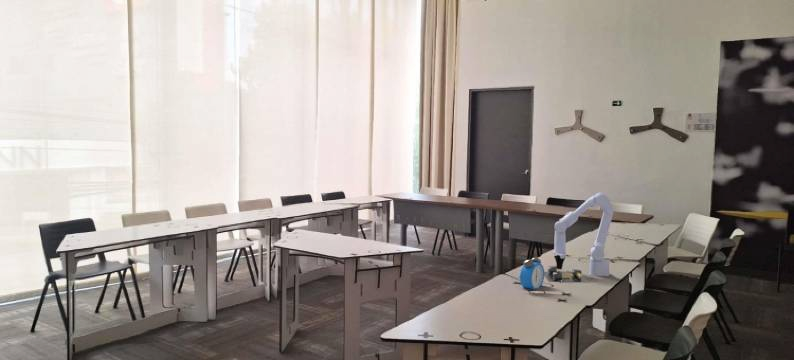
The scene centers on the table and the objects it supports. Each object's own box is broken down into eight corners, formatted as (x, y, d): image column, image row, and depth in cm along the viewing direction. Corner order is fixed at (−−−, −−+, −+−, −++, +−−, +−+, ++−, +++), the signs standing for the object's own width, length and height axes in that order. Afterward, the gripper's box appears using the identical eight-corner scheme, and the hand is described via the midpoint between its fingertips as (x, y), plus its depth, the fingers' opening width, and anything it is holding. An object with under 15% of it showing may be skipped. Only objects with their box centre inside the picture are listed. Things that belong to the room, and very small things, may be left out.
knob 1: (555, 274, 275) (555, 268, 275) (546, 273, 277) (547, 267, 277) (560, 270, 284) (560, 264, 283) (552, 269, 286) (552, 263, 286)
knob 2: (553, 280, 264) (554, 273, 264) (552, 277, 269) (552, 271, 268) (574, 280, 263) (574, 274, 263) (572, 278, 268) (572, 272, 268)
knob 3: (571, 275, 274) (571, 269, 273) (579, 275, 273) (580, 269, 273) (576, 280, 264) (576, 274, 263) (585, 280, 263) (585, 274, 263)
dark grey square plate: (579, 274, 281) (579, 270, 281) (589, 284, 261) (590, 280, 261) (541, 273, 283) (541, 269, 282) (548, 284, 263) (548, 279, 263)
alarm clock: (530, 293, 247) (531, 261, 246) (518, 290, 251) (519, 259, 250) (544, 287, 256) (545, 257, 255) (533, 285, 260) (533, 255, 259)
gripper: (549, 241, 289) (549, 265, 290) (555, 246, 274) (554, 272, 275) (562, 241, 288) (562, 265, 289) (569, 246, 274) (568, 272, 275)
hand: (559, 269), depth 282 cm, fingers closed, pressing on knob 1
